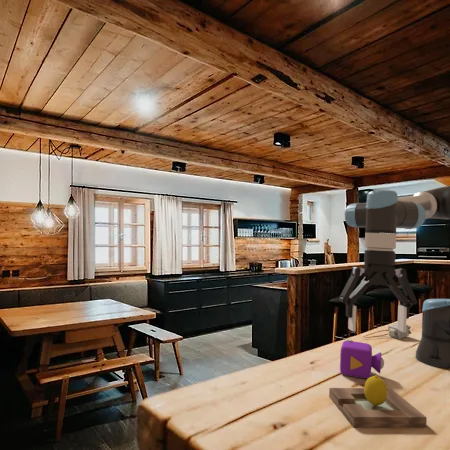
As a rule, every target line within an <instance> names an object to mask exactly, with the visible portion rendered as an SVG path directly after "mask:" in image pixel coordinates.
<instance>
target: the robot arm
mask: <svg viewBox="0 0 450 450" xmlns="http://www.w3.org/2000/svg"><path fill="white" fill-rule="evenodd" d="M427 219H437V220H438V219H440V220H450V185H449V186H448V185H447V186H442V187H441V186H440V187H436V188H432V189H429V190H424V191H419V192H417V193H415V194H414V195H410V196H409V195H408V196H402V197H398V193H397V191H395V190H388V189H382V190H381V189H379V190H378V189H377V190H371V191H369V192H368V193H367V194H366V202H356V203H350V204H349V205H347V206H346V208H345V209H344V221H345V223H346V225H348V226H349V227H352V228H357V229H358V228H365V233H364V234H365V235H364V236H365V237H364V248H366V249H365V250H364V257H363V263H364V266H363V268H362V267H357V266H352V268H351V274H350V276H349V278H348V280H347V282H346V283H345V286H344V288H343V289H342V291H341V293H340V295H339V297H338V300H339V301H340V302H342V303H343V304H345V316H346V317H347V318H348V321H347V325H348V327H347V328H348V329H349V330H350V331H351V332H356V330H357V329H356V327H357V325H356V324H357V305H355V303H356V302H357V301H358V300H359V299H360V298H361V296H363V294H364V293H365V292H366V291H367V289H368V288H369V287H371V286H380V285H381V286H385V287H386V286H387V288H389V289H390V291H391V292H392V294H394V296H395V298H396V299H397V300H398V302H399V303H400V304H398V306H397V323H398V326H397V329H398V330H400V331H402V332H406V324H407V320H409V318H410V308H412V307H413V305H417V304H418V300H417V298H416V295H415V293H414V290H413V288H412V286H411V284H410V281H409V280H408V276H407V275H408V274H407V269H406V268H401V267H398V268H396V269H395V264H396V252H395V251H394V250H395V249H396V247H397V229H406V230H411V229H417V228H419V227H421V226H422V225H424V223H425V221H426V220H427ZM362 275H364V277H363V279H362V280H361V281H360V283H359V284H358V285H357V287H356V284H357V283H358V281H359V279H360V277H361V276H362ZM395 276H396V277H397V280H398V282H399V284H400V286H401V289H402V290H401V289H400V287H399V286H398V285H397V282H396V281H395V280H394V278H395ZM355 287H356V288H355ZM354 288H355V289H354ZM402 291H403V292H402ZM421 313H422V316H421V317H422V319H421V338H420V341H419V343H418V346H417V348H416V350H415V358H416V360H417V361H419V362H421V363H423V364H425V365H429V366H433V367H437V368H443V369H450V298H428V299H425V300H424V301H423V303H422V311H421Z"/></svg>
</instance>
